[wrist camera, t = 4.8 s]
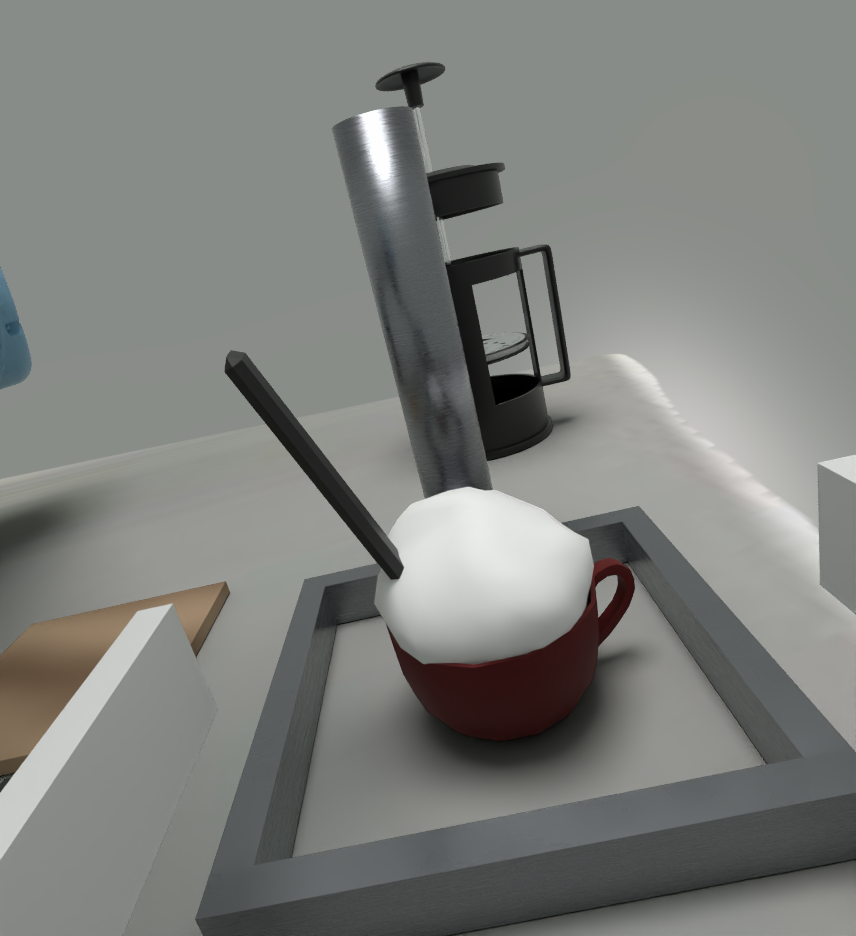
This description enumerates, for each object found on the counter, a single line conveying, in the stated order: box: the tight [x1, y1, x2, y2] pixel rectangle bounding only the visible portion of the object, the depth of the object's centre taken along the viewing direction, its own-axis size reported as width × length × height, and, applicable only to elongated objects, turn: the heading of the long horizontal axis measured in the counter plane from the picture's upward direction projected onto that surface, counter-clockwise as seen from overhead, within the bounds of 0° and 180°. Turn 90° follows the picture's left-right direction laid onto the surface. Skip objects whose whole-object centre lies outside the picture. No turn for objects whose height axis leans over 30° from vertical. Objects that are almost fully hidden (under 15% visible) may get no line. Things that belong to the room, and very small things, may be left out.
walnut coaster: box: [0, 581, 230, 776], centre depth 26 cm, size 10×10×1 cm
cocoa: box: [225, 351, 635, 741], centre depth 18 cm, size 10×6×12 cm, turn 80°
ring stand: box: [195, 107, 856, 936], centre depth 19 cm, size 19×14×18 cm
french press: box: [375, 62, 571, 460], centre depth 40 cm, size 12×9×23 cm
